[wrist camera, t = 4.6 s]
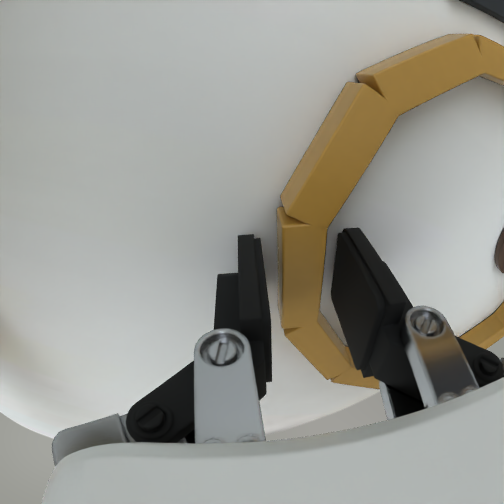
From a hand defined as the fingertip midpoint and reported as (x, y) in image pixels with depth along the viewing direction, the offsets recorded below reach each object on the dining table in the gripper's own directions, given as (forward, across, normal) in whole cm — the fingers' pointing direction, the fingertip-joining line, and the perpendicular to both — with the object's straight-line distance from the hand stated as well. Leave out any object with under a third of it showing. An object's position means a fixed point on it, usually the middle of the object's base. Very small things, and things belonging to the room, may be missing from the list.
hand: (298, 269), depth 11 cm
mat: (+1, -15, -20) cm, 25 cm away
